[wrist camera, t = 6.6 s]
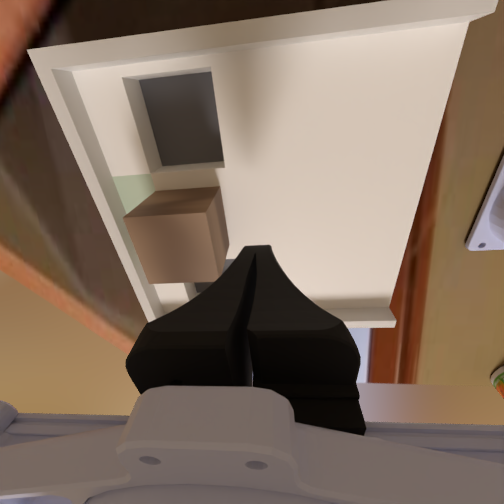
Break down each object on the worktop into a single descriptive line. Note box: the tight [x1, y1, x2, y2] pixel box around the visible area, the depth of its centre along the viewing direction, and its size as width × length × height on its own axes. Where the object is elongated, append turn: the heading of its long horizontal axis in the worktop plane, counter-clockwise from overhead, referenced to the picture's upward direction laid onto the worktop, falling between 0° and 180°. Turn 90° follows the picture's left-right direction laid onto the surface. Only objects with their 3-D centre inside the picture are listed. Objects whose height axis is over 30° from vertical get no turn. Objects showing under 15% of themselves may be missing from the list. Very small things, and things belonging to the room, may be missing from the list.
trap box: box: [27, 0, 498, 328], centre depth 18 cm, size 21×20×4 cm
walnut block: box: [123, 186, 230, 284], centre depth 16 cm, size 4×4×4 cm
